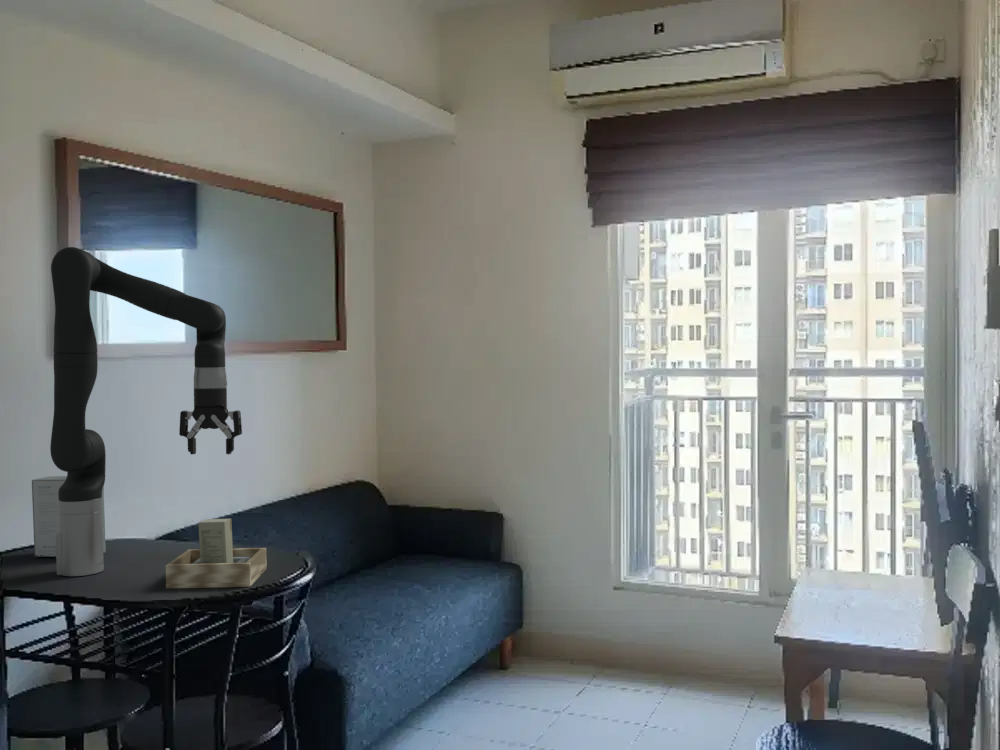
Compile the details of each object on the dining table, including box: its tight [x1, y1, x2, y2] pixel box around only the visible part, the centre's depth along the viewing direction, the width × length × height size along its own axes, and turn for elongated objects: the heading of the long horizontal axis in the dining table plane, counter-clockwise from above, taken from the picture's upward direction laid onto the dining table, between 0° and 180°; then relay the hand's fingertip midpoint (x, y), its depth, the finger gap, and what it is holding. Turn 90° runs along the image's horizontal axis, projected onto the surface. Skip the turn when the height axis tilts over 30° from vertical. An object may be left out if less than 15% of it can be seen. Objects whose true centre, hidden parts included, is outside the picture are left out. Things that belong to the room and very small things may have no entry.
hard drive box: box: [31, 475, 107, 556], centre depth 232 cm, size 16×8×20 cm, turn 81°
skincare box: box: [197, 518, 234, 564], centre depth 205 cm, size 6×4×12 cm
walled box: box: [165, 547, 268, 589], centre depth 206 cm, size 18×16×5 cm
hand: (211, 454), depth 219 cm, fingers open, 8 cm apart
